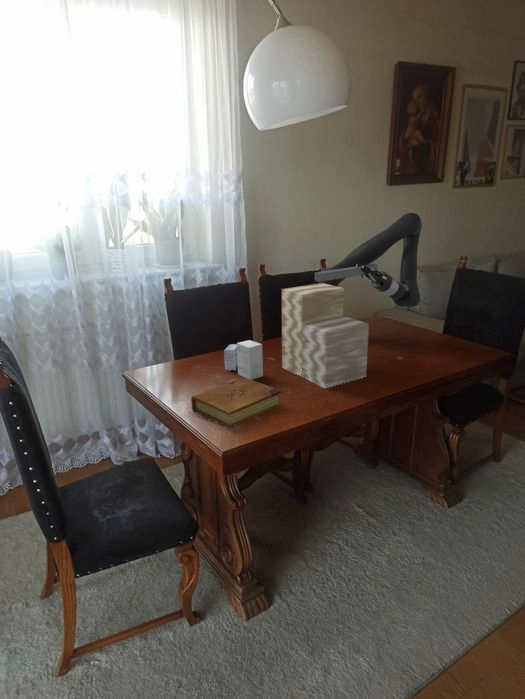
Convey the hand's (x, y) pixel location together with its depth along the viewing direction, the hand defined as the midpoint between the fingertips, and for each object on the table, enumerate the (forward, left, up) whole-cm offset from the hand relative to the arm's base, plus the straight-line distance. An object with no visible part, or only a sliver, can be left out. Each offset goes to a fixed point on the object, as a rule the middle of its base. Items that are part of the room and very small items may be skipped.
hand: (359, 266), depth 198 cm
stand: (+3, -20, -39) cm, 44 cm away
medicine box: (-23, -46, -39) cm, 64 cm away
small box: (-11, -45, -39) cm, 61 cm away
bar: (0, -7, -3) cm, 7 cm away
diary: (+12, -64, -40) cm, 76 cm away
